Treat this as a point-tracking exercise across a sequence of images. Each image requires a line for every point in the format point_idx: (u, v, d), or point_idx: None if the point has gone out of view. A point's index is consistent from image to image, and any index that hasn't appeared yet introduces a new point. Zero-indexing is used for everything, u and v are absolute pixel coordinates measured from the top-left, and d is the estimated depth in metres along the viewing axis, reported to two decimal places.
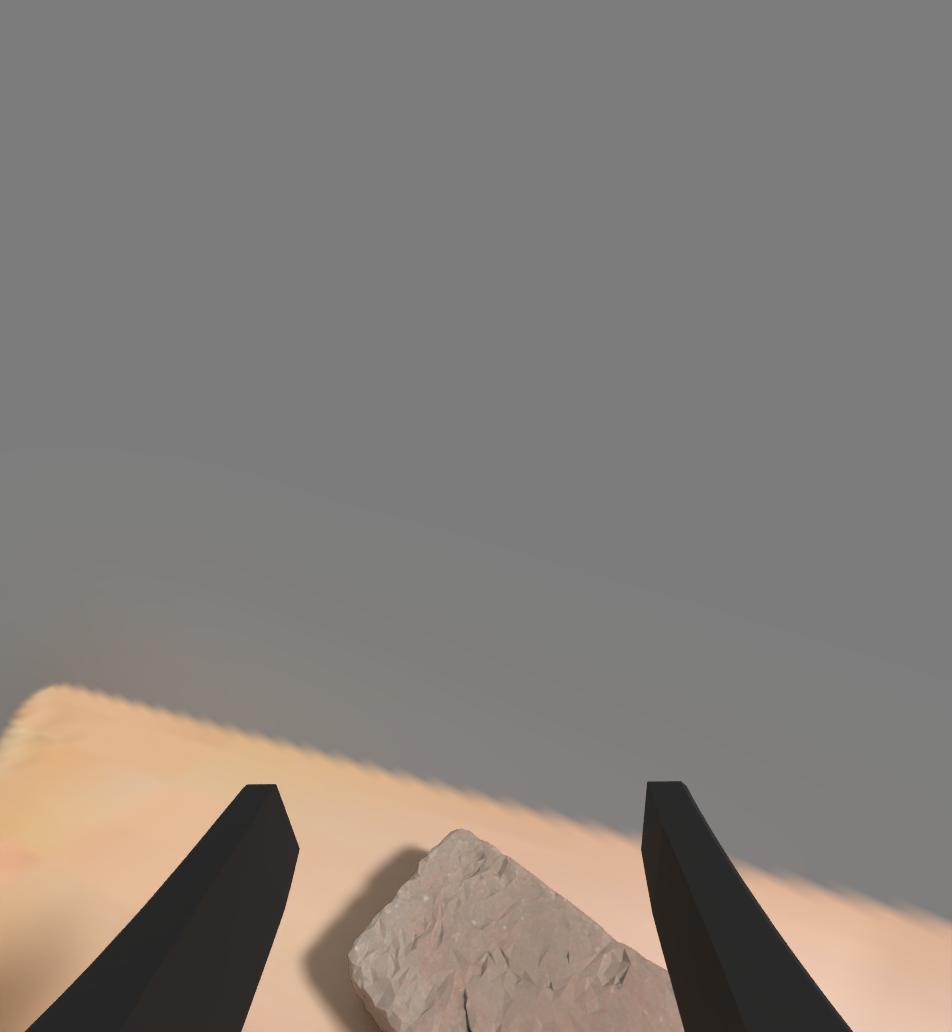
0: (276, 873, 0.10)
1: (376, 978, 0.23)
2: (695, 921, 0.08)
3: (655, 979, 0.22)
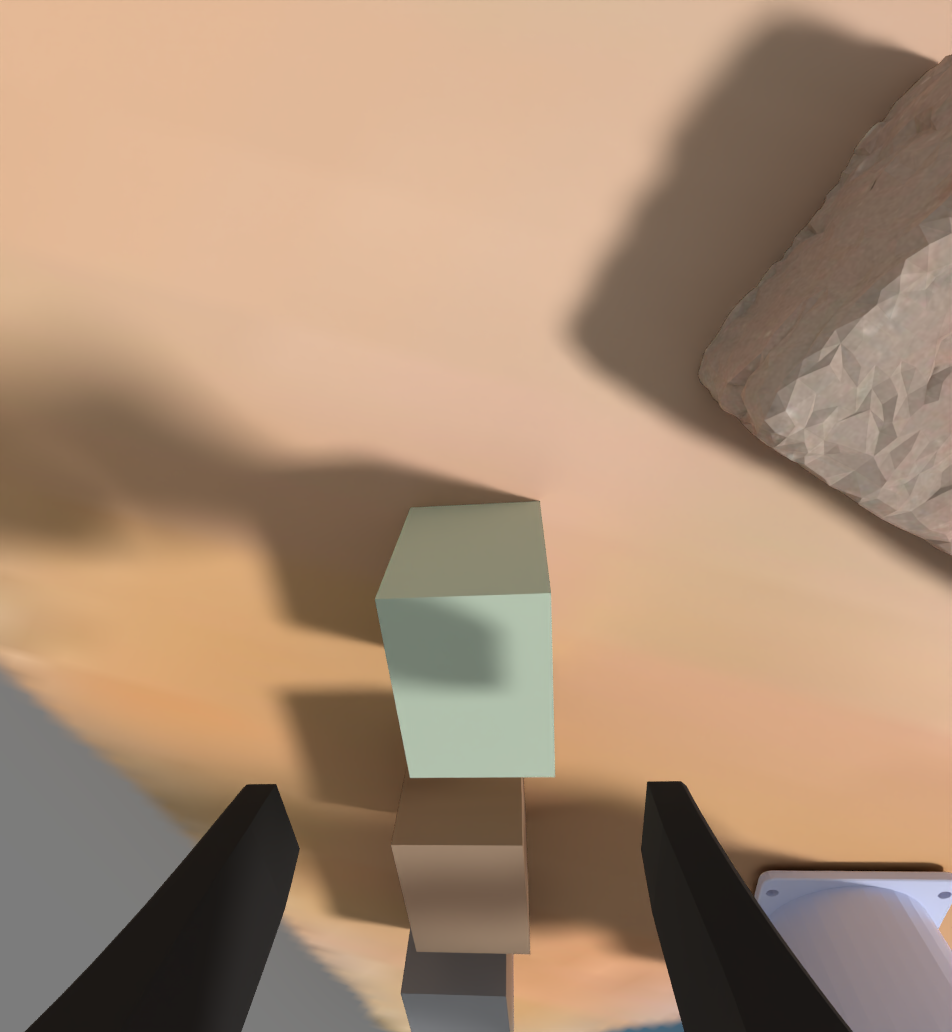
0: (276, 873, 0.10)
1: (835, 452, 0.11)
2: (695, 921, 0.08)
3: None
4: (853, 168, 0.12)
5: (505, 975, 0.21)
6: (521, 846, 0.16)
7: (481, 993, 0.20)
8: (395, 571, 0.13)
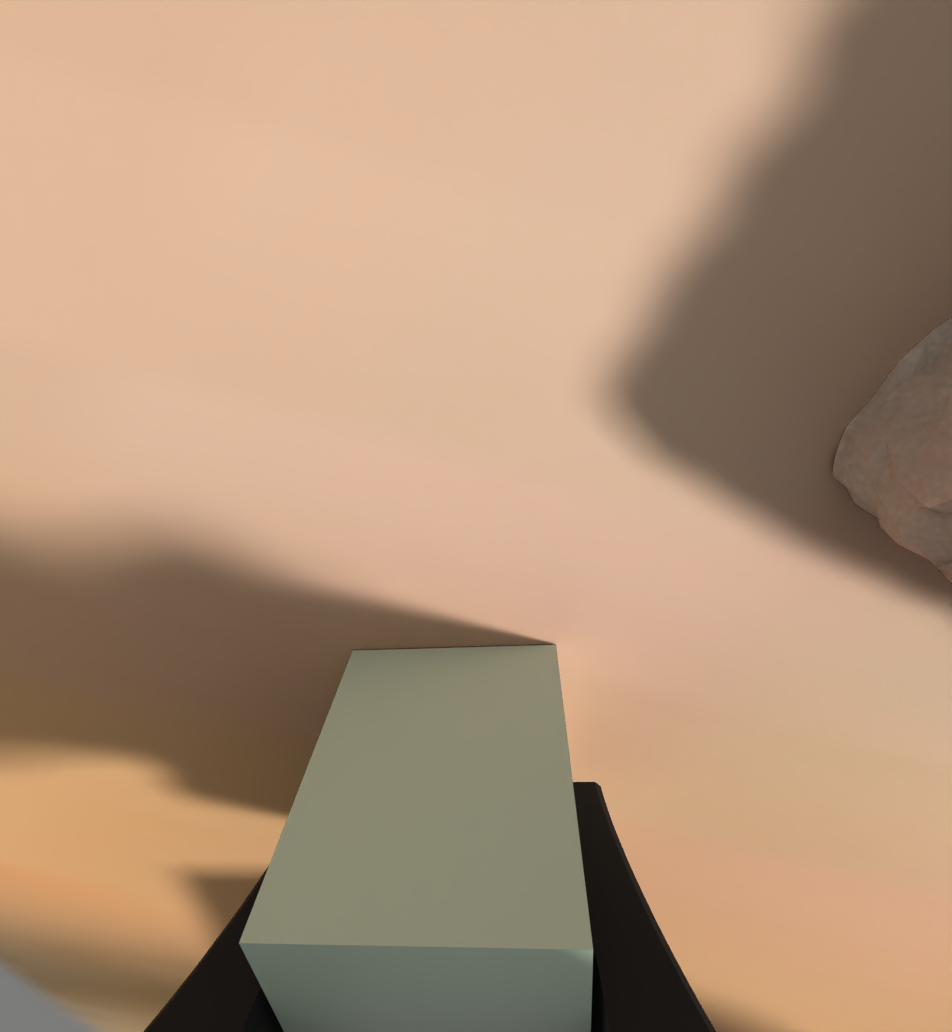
0: None
1: None
2: None
3: None
4: None
5: None
6: None
7: None
8: (296, 842, 0.07)
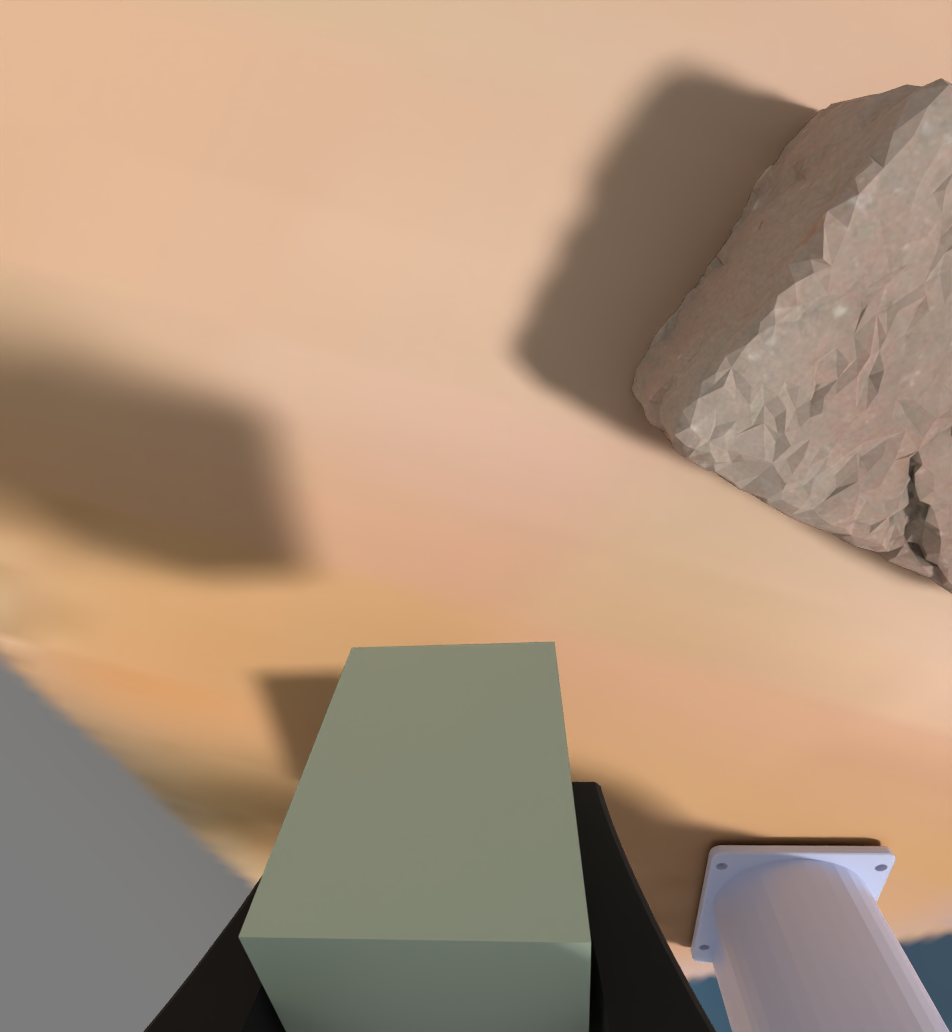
0: None
1: (740, 460, 0.13)
2: None
3: None
4: (752, 206, 0.13)
5: None
6: None
7: None
8: (295, 837, 0.07)
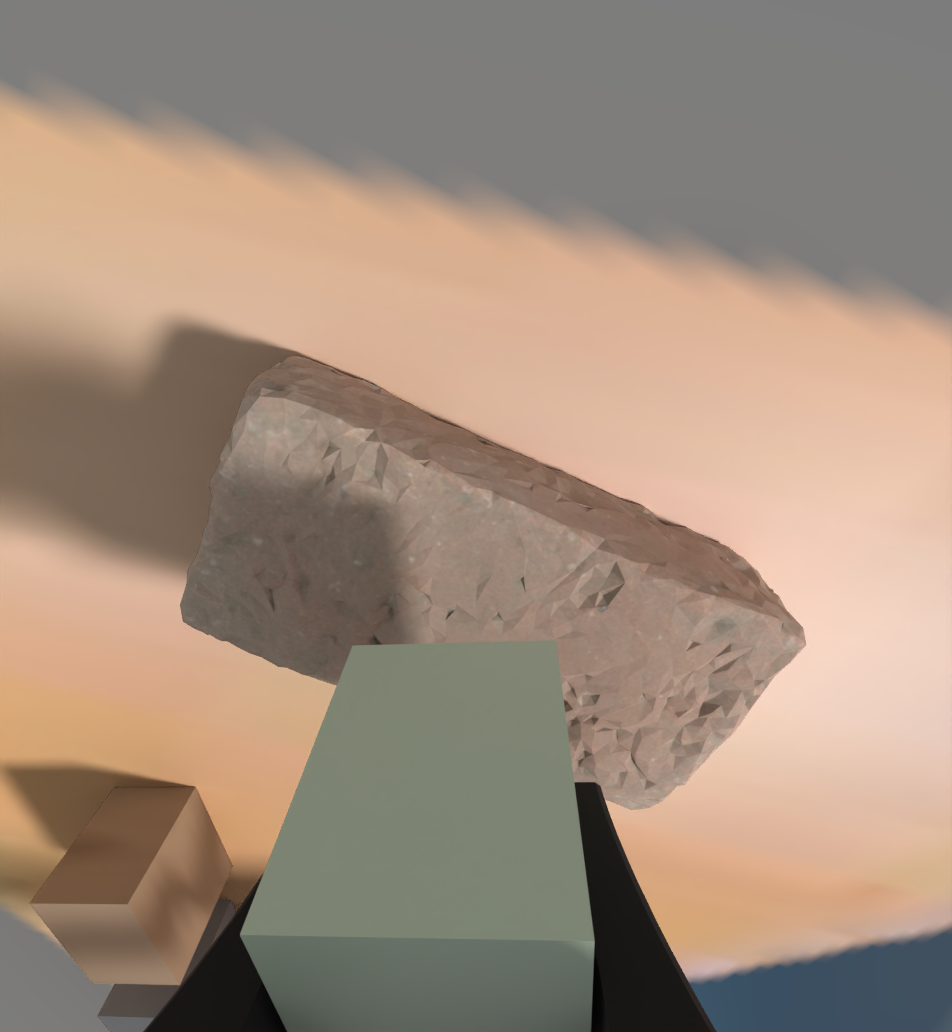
0: None
1: (243, 639, 0.16)
2: None
3: (662, 599, 0.14)
4: None
5: None
6: (127, 905, 0.20)
7: None
8: (296, 835, 0.07)
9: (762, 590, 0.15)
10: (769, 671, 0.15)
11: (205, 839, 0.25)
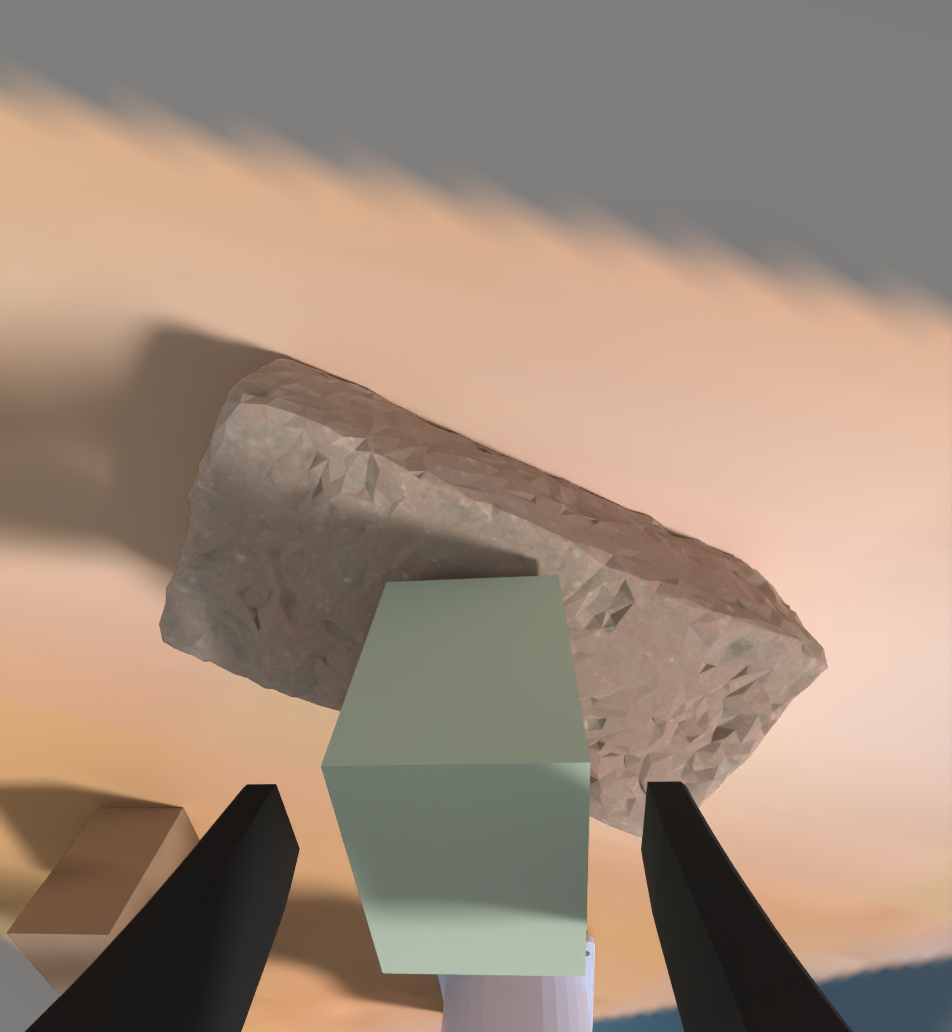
0: (276, 873, 0.10)
1: None
2: (695, 921, 0.08)
3: (674, 619, 0.13)
4: None
5: None
6: (108, 935, 0.19)
7: None
8: (356, 707, 0.09)
9: (779, 607, 0.15)
10: (787, 694, 0.14)
11: None
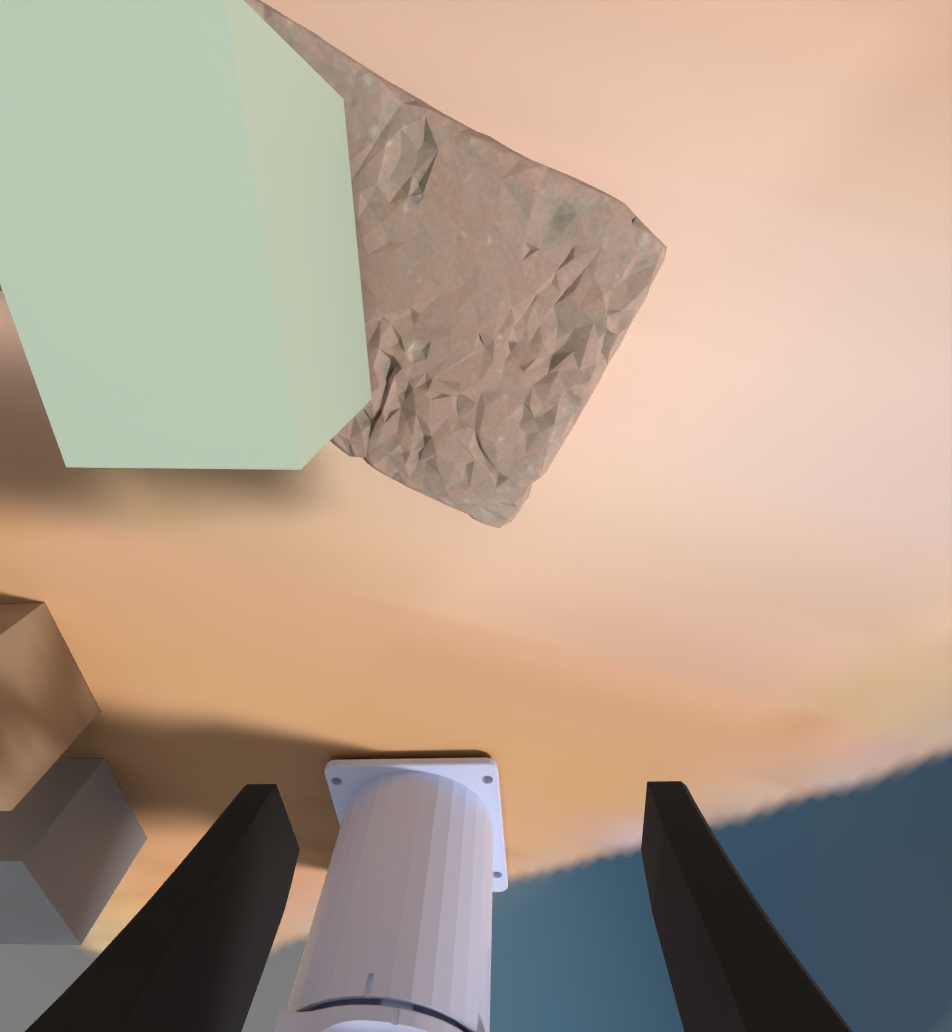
0: (276, 873, 0.10)
1: None
2: (695, 921, 0.08)
3: (484, 173, 0.11)
4: None
5: (35, 845, 0.22)
6: None
7: (1, 859, 0.21)
8: None
9: None
10: (626, 299, 0.12)
11: (58, 665, 0.22)
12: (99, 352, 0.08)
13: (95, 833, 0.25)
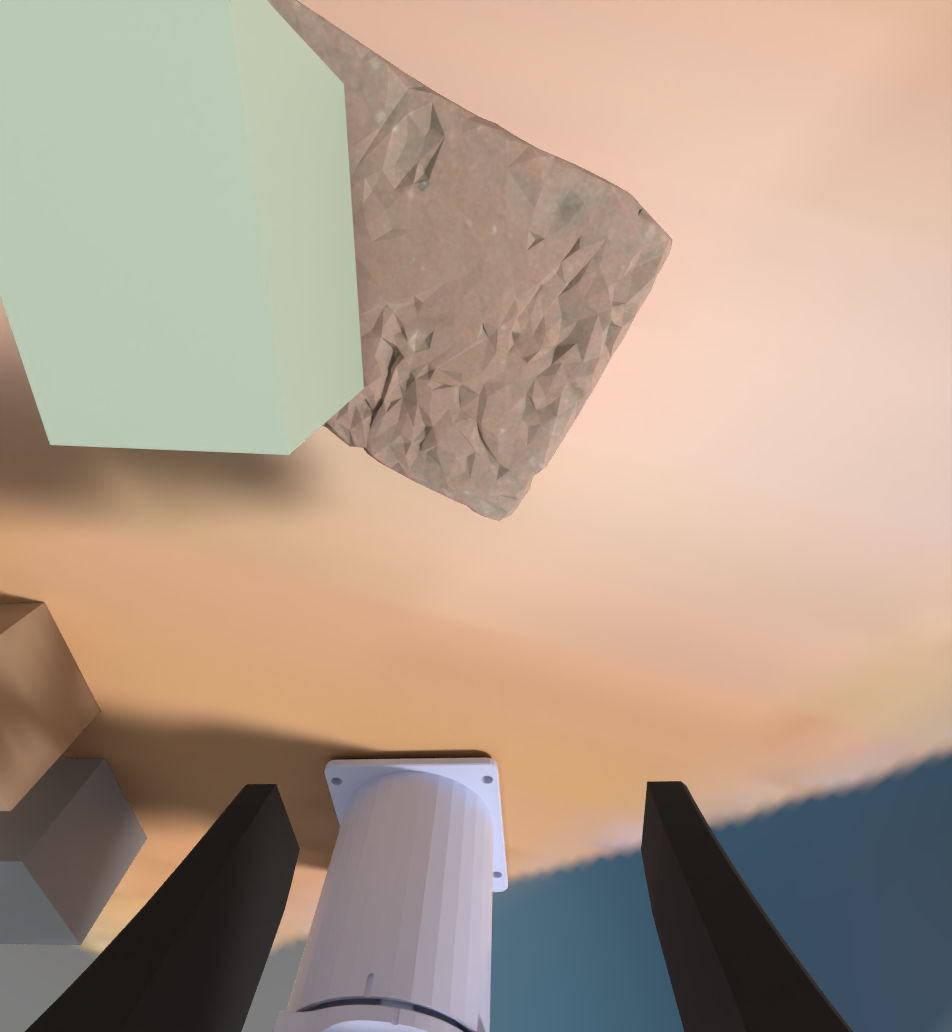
0: (276, 873, 0.10)
1: None
2: (695, 921, 0.08)
3: (490, 160, 0.11)
4: None
5: (34, 845, 0.22)
6: None
7: (1, 859, 0.21)
8: None
9: None
10: (631, 291, 0.12)
11: (58, 665, 0.22)
12: (87, 328, 0.08)
13: (95, 833, 0.25)
